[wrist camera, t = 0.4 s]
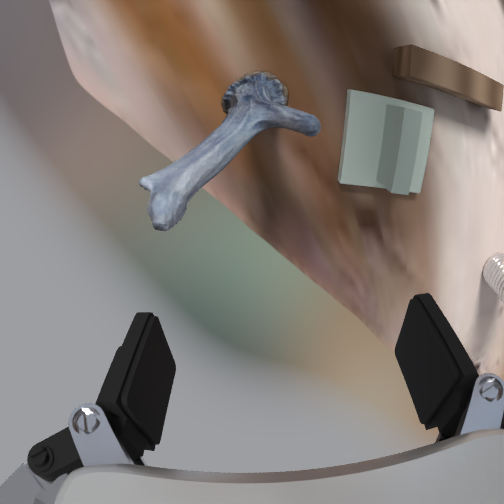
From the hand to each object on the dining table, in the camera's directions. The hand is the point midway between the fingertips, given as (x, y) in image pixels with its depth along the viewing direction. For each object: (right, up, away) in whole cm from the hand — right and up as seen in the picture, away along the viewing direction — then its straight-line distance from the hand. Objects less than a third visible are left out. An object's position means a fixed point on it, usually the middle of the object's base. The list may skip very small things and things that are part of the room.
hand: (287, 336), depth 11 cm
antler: (-2, +20, +23) cm, 30 cm away
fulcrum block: (+16, +17, +24) cm, 34 cm away
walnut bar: (+24, +27, +19) cm, 41 cm away
